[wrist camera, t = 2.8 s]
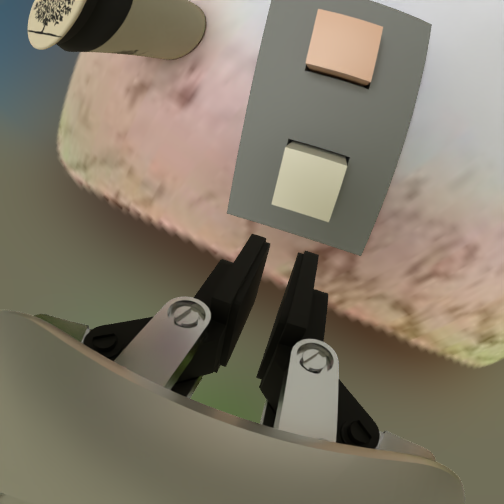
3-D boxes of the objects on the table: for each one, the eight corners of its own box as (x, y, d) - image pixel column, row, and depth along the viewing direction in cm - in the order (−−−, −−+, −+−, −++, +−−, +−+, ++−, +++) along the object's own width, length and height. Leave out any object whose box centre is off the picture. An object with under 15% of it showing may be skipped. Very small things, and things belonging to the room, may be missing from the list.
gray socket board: (417, 35, 18) (431, 24, 14) (358, 234, 31) (360, 256, 27) (285, -2, 20) (276, -19, 16) (241, 197, 33) (226, 213, 29)
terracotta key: (374, 40, 18) (383, 26, 14) (363, 86, 21) (370, 82, 17) (321, 25, 19) (318, 8, 15) (310, 71, 21) (305, 63, 17)
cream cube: (345, 155, 24) (347, 166, 20) (330, 202, 27) (328, 222, 23) (293, 140, 25) (285, 147, 21) (281, 187, 28) (271, 204, 24)
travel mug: (171, -6, 22) (58, -44, 7) (220, 16, 23) (110, -39, 7) (137, 45, 26) (15, 39, 11) (181, 70, 27) (53, 66, 12)
